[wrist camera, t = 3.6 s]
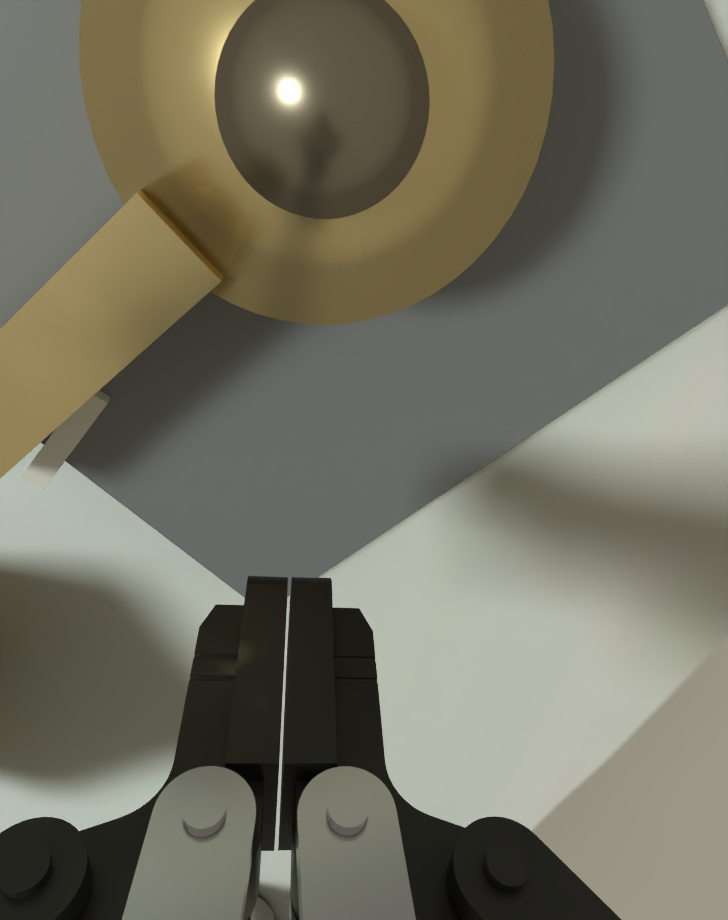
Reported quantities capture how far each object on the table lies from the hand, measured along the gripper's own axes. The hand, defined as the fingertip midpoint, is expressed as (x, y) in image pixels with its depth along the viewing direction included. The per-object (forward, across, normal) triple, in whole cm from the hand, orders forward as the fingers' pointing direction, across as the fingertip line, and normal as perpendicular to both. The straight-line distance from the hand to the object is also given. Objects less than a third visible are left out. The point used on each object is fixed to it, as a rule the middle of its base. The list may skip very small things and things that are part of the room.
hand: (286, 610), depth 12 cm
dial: (+6, +3, -5) cm, 8 cm away
